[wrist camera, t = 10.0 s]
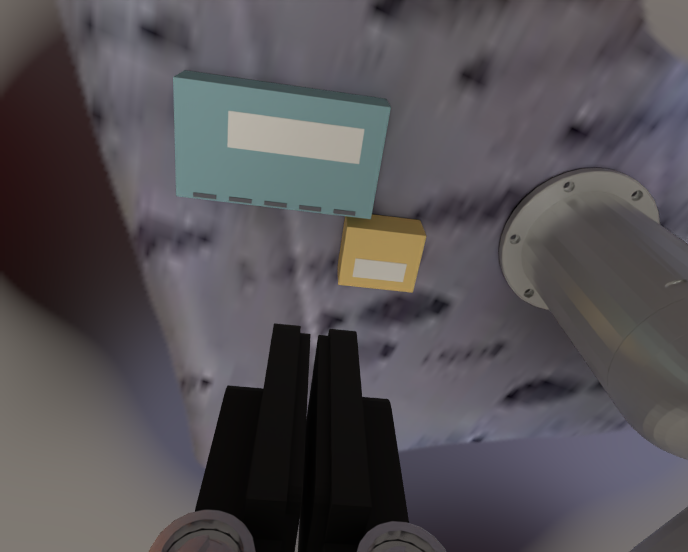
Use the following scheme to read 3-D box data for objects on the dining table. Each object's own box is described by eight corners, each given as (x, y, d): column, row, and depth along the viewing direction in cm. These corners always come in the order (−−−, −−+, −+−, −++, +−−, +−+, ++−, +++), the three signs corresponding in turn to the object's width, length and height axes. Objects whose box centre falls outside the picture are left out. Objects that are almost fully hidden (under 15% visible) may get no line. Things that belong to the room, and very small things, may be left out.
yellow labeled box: (419, 220, 40) (426, 236, 38) (407, 274, 43) (412, 293, 40) (345, 211, 40) (347, 227, 37) (337, 266, 42) (338, 285, 39)
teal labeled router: (386, 99, 36) (390, 107, 33) (367, 204, 40) (370, 219, 37) (184, 70, 34) (172, 77, 32) (186, 181, 38) (175, 196, 36)
